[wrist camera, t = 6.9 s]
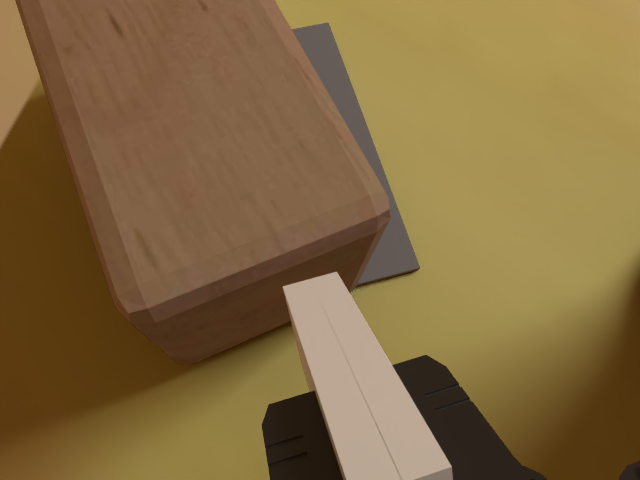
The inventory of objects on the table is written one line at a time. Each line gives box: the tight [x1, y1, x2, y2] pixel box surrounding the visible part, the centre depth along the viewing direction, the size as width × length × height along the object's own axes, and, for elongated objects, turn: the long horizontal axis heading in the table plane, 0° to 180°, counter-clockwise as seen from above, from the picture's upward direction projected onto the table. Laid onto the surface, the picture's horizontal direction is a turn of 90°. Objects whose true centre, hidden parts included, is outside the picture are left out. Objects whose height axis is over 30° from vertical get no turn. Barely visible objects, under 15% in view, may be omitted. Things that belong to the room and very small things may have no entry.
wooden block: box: [15, 0, 391, 364], centre depth 23 cm, size 10×10×20 cm
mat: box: [292, 23, 420, 286], centre depth 29 cm, size 18×14×1 cm
